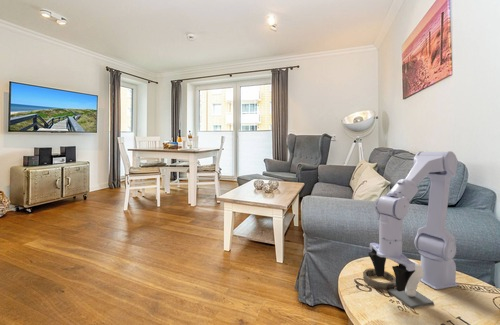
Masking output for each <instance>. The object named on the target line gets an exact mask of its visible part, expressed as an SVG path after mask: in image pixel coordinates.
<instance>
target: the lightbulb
mask: <svg viewBox="0 0 500 325" xmlns="http://www.w3.org/2000/svg"><path fill="white" fill-rule="evenodd" d="M409 260H410V261H412V262H414V263H415V272H414V273H413V274H412V275H411V277H410V278H409V280H408V282H407V285H406V288H405V292H406V294H407V295H409V296H410V297H412V296H415V295H416V291H417V289H418V285H419V283H420V282H421V281H420V280H421V279H422V277H423V269H422V267H421V264H420V263H418V261H416V260H413V259H409Z"/></svg>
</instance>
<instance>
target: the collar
mask: <svg viewBox="0 0 500 325" xmlns="http://www.w3.org/2000/svg"><path fill="white" fill-rule="evenodd" d="M369 276H370V277H369ZM371 276H376V273H375V269H374V268H366V269H365V270H364V271H362V279H363V281H364V282H365V283H366V284H367V285H368V286H370V287H372V288H375V289H377V290H382V291H388V290H391V289H396V278H395V275H393V274H392V273H390V272H388V271H386V270H384V276H381V278H383V279H386V280H388V281H389V282H381V281H378V280H375V279H372V278H371ZM376 277H377V276H376Z"/></svg>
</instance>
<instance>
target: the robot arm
mask: <svg viewBox="0 0 500 325" xmlns="http://www.w3.org/2000/svg"><path fill="white" fill-rule="evenodd" d="M457 171H458V158H457V155H456V154H455V153H454V152H453V151H452V150H450V151H418V152H417V153H416V154H415V156H414V157H413V166H412V167H411V169H410V171H409V172H408V173H407V175H406V177H405V178H401V179H398V181H396V183H395V184H394V186H392V188H391V189H389V191H388V192H387V193H386V195H382V196H380V197H378V198H377V200H376V201H375V205H374V210H375V212H376V214H377V217H376V218H377V220H378V221H379V225H378V226H379V228H378V230H379V231H378V232H379V233H378V234H379V237H378V239H379V240H378V242H379V243H376V242H371V243H369V250H371V251H369V252H368V256H369V258H370V259H371V262H372V264H373V269H375V273H376V277H377V278H380V277H381V276H384V271H385V269H386V267H385V266H386V261H387V259H388V260H391V261H393V262H394V263H396V264H398V265H392V266H391V267H392V271H393V273H394V277H395V278H396V287H395V289H397V291H405V288H406V285H407V282H408V280H409V278H410V277H411V275H412V274H413V273H414V272H415V263H414V262H412V261H410V260H411V259H409V257H407V256H406V255H404V253H402V252H403V219H404V218H405V217H406V216H407V214H408V209H409V207H410V205H411V204H410V202H411V201H412V199H413V198H414V197H415V196H416V194H417V193H418V191H419V190H418V189H419V188H418V185H419V184H420V183H421V182H422V181H423V180H424V179H425V178H426V177H428V178H429V179H430V188H429V196H428V205H427V207H428V208H427V213H426V215H427V216H426V222H425V223H426V224H425V226H422V227H419V228H418V229H417V233H416V235H415V238H414V246H415V249H416V250H417V251H418V254H420V266H421V267H422V269H423V277H422V279H421V280H420V281H419V282H421V283H423V284H426V285H427V286H428V287H430V288H432V289H434V290H437V291H438V290H442V289H448V288H454V287H458V286H459V284H458V283H456V282H457V281H456V279H457V276H456V273H457V265H456V262H455V260H454V258H455V256H456V254H457V247H456V237H455V235H453V234H452V233H451V232H450V231H449V230H448V229H446V225H447V224H446V223H447V214H448V204H449V195H450V188H451V187H450V186H451V179H455V178H456V177H457ZM381 278H382V277H381Z"/></svg>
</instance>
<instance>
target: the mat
mask: <svg viewBox="0 0 500 325" xmlns="http://www.w3.org/2000/svg"><path fill="white" fill-rule="evenodd" d="M387 292H388V293H389V294H391V295H392V296H393V297H394V298H396V299H397V300H399V301H400V302H401V303H402V304H405V306H406V307H408V308H410V309H414V308H419V307H425V306H430V305H434V301H433V300H432V299H430V298H428V297H426V296H425V295H423V294H421V293H420V292H419V291H417V290H416V295H415V296H412V297H410V296H409V295H407V294H406V292H405V291H397V289H396V288H394V289H391V290H387Z"/></svg>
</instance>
